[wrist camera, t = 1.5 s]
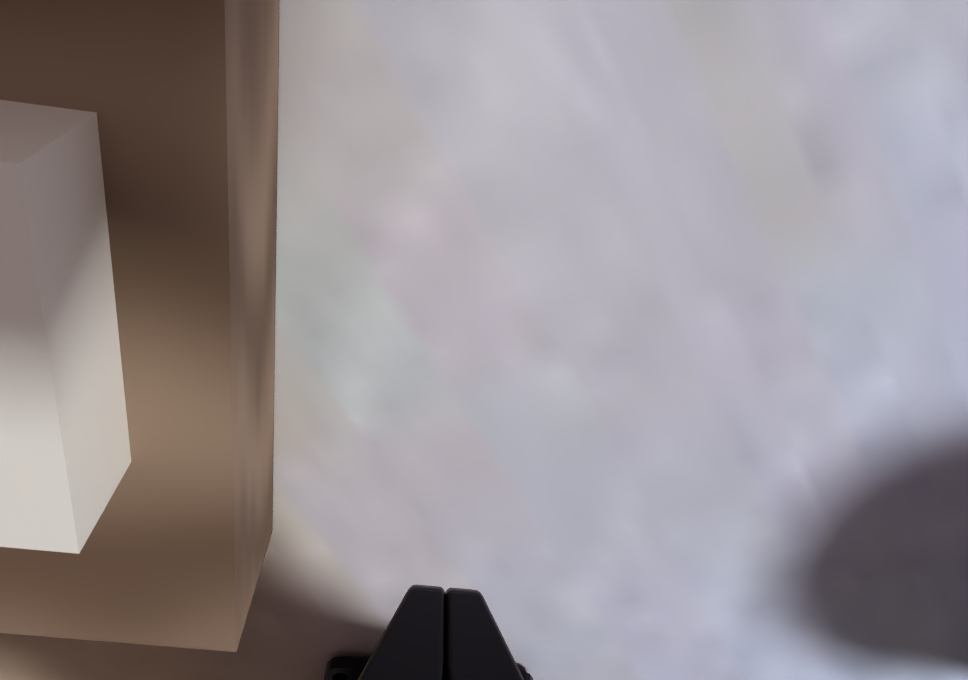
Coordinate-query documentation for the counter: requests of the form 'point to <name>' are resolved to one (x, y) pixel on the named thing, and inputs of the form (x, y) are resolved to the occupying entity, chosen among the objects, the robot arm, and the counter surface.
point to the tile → (56, 332)
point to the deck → (168, 310)
